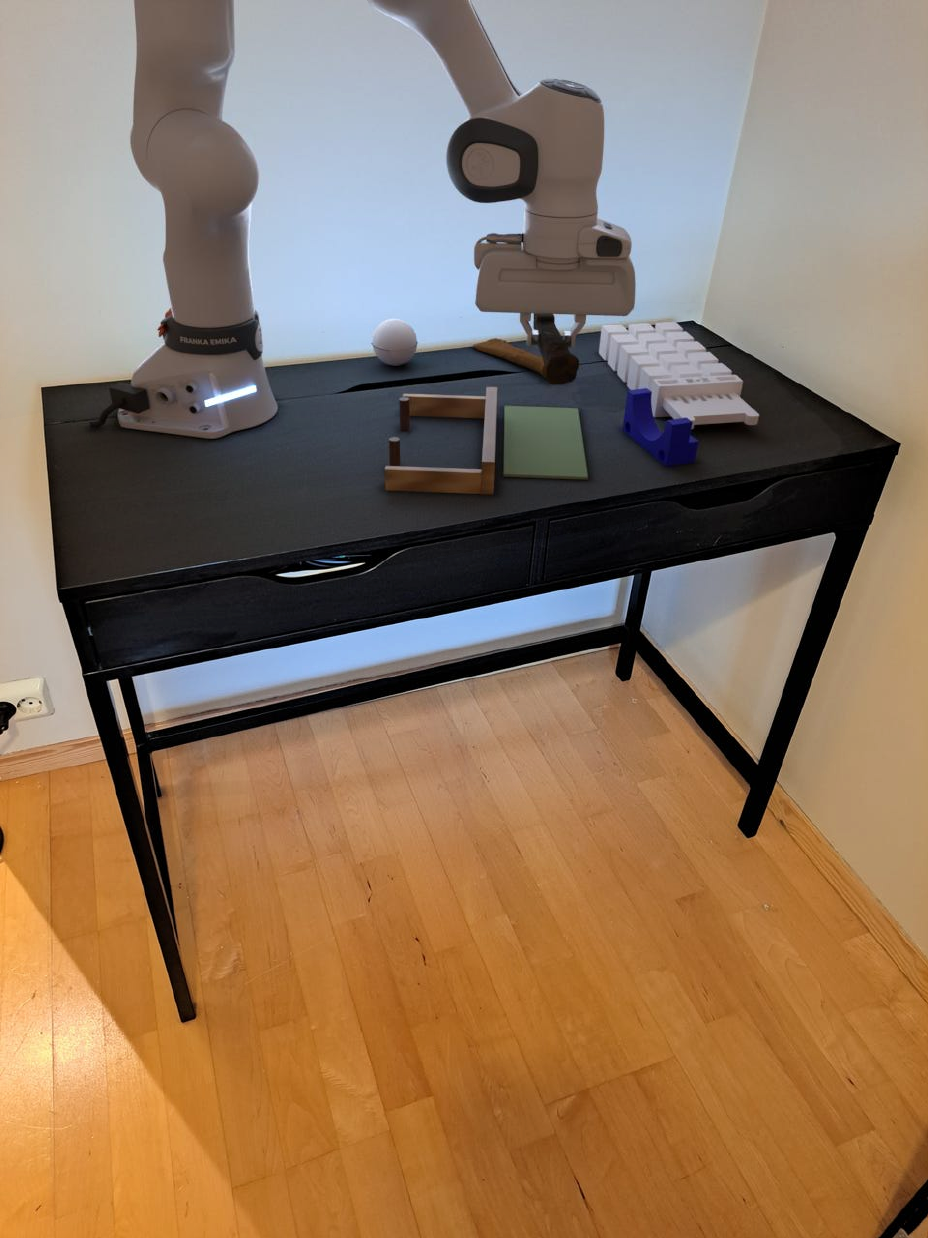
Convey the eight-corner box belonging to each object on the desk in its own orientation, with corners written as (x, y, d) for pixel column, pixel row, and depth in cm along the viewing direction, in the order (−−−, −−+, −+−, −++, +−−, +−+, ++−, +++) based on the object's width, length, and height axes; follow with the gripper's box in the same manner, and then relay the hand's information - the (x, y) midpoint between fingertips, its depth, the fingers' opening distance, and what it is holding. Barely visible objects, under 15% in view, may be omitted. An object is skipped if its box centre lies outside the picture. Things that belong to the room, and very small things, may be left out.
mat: (503, 476, 117) (503, 473, 117) (504, 407, 135) (504, 405, 135) (587, 479, 117) (587, 476, 117) (577, 410, 135) (578, 408, 134)
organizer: (675, 321, 154) (769, 403, 126) (670, 349, 156) (761, 435, 129) (601, 325, 151) (681, 409, 124) (598, 353, 154) (675, 441, 127)
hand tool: (578, 385, 112) (581, 349, 109) (546, 386, 111) (548, 349, 109) (556, 333, 127) (559, 299, 124) (528, 333, 127) (530, 300, 124)
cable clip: (694, 461, 122) (702, 420, 118) (665, 466, 121) (672, 424, 117) (649, 425, 131) (655, 386, 127) (622, 430, 129) (627, 390, 126)
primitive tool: (471, 347, 155) (472, 327, 153) (496, 341, 158) (497, 321, 156) (544, 383, 143) (546, 362, 141) (569, 376, 146) (572, 355, 144)
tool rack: (385, 490, 114) (384, 458, 111) (403, 412, 133) (403, 383, 130) (493, 494, 113) (494, 462, 111) (496, 415, 133) (497, 386, 130)
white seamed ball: (365, 360, 149) (363, 316, 145) (405, 353, 152) (404, 309, 148) (391, 381, 142) (389, 335, 138) (432, 373, 145) (432, 328, 141)
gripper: (473, 239, 107) (470, 352, 116) (644, 243, 107) (629, 357, 115) (474, 225, 113) (472, 335, 121) (638, 230, 112) (624, 339, 120)
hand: (550, 345), depth 118 cm, fingers closed on hand tool, 3 cm apart
